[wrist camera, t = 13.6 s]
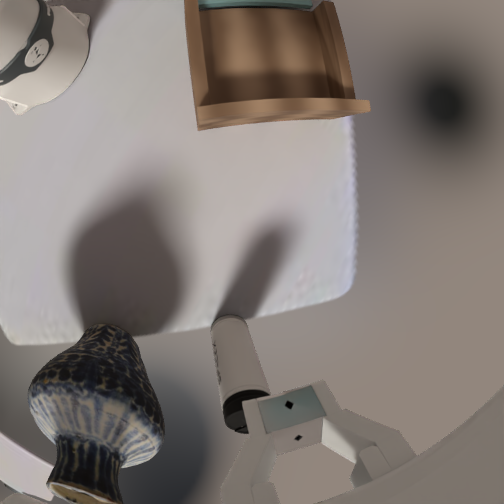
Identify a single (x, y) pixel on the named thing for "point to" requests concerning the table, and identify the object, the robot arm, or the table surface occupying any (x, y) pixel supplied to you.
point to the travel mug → (236, 369)
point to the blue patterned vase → (96, 414)
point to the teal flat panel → (255, 3)
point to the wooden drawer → (268, 65)
